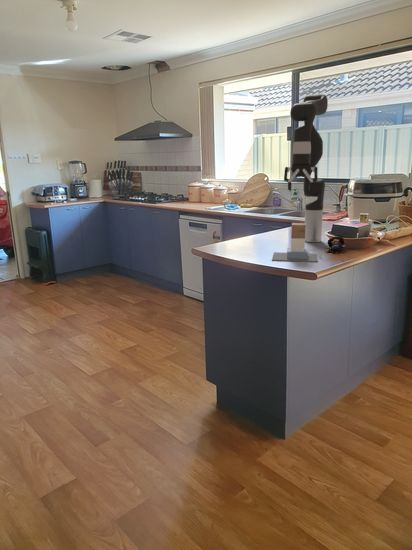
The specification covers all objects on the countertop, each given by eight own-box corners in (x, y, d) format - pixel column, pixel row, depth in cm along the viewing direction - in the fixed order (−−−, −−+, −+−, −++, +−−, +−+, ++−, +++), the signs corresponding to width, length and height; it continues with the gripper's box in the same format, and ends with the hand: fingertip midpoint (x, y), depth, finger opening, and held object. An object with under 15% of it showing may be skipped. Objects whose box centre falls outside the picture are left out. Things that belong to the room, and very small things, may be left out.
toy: (324, 250, 206) (325, 236, 218) (328, 261, 208) (329, 247, 220) (344, 245, 202) (344, 231, 214) (347, 256, 204) (347, 242, 216)
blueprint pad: (273, 253, 207) (274, 246, 206) (316, 254, 203) (317, 247, 202) (271, 260, 192) (272, 253, 191) (318, 262, 188) (318, 254, 187)
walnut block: (291, 236, 199) (291, 223, 197) (304, 236, 197) (305, 223, 196) (291, 238, 193) (291, 224, 191) (304, 238, 192) (305, 225, 190)
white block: (290, 248, 200) (291, 236, 199) (304, 249, 199) (304, 236, 197) (290, 251, 194) (291, 238, 193) (304, 251, 193) (305, 238, 192)
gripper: (318, 152, 188) (316, 190, 192) (285, 153, 191) (283, 190, 195) (319, 152, 181) (317, 191, 185) (284, 153, 183) (283, 191, 188)
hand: (300, 191), depth 190 cm, fingers open, 8 cm apart
